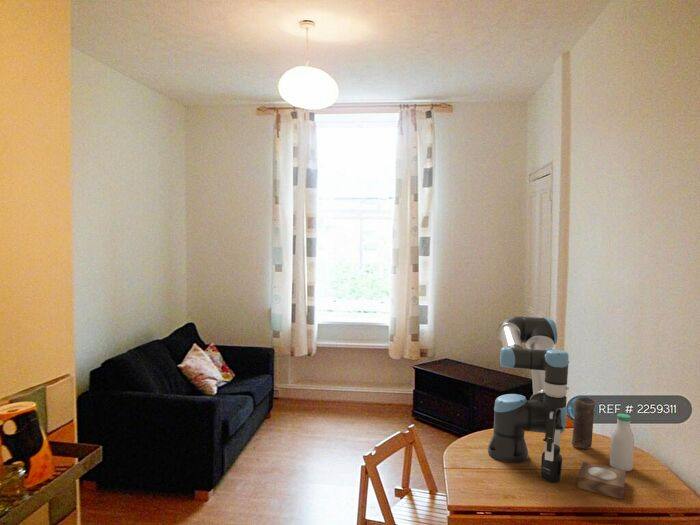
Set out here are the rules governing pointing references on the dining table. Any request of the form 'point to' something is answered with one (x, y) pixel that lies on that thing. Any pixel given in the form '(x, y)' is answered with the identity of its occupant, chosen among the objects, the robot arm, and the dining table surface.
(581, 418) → the brown cylinder
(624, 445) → the milk bottle
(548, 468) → the supplement bottle
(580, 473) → the walnut plinth
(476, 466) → the dining table surface
